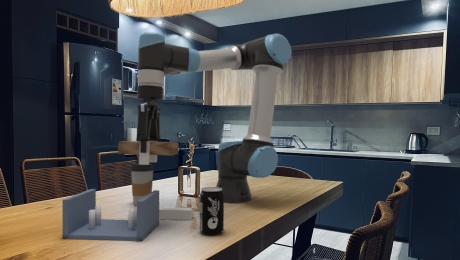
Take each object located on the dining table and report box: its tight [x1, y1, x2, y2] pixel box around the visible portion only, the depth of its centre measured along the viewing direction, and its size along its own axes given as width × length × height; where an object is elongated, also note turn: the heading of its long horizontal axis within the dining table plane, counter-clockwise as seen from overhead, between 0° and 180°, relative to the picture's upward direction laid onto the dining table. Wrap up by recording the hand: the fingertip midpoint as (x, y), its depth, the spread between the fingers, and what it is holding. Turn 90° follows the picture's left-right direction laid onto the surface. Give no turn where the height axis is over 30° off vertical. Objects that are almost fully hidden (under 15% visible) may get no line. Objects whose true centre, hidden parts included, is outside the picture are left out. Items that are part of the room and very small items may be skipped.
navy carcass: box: [61, 188, 160, 242], centre depth 93 cm, size 21×15×10 cm
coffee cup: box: [130, 162, 155, 207], centre depth 125 cm, size 8×8×15 cm
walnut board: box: [117, 140, 179, 156], centre depth 99 cm, size 16×7×4 cm, turn 86°
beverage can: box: [199, 186, 225, 236], centre depth 92 cm, size 7×7×12 cm
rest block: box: [159, 207, 193, 221], centre depth 106 cm, size 10×3×3 cm, turn 86°
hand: (148, 163), depth 99 cm, fingers closed on walnut board, 7 cm apart
